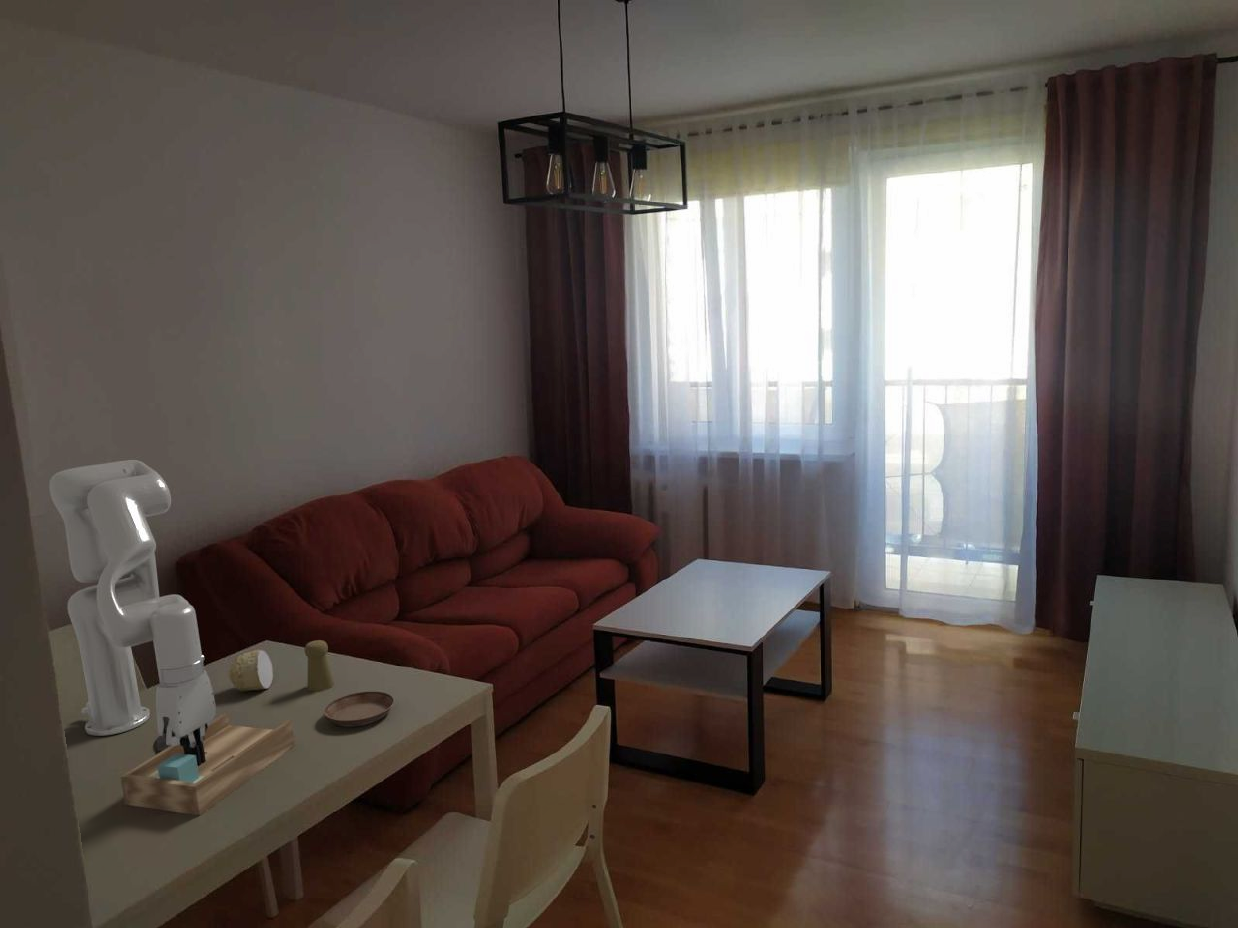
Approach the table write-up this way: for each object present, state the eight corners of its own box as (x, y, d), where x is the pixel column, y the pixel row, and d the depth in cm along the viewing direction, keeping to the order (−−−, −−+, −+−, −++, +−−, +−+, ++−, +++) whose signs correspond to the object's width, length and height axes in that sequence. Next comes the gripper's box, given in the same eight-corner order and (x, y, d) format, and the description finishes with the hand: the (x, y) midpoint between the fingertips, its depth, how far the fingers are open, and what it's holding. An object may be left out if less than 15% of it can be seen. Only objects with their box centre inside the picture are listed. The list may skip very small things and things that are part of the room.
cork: (307, 683, 214) (302, 639, 212) (334, 679, 216) (328, 635, 214) (307, 693, 208) (301, 648, 206) (334, 688, 210) (328, 644, 208)
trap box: (125, 804, 164) (120, 776, 163) (227, 737, 188) (223, 713, 187) (199, 815, 158) (195, 786, 157) (294, 745, 182) (291, 720, 182)
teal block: (161, 787, 163) (157, 764, 162) (179, 775, 167) (176, 752, 166) (180, 790, 161) (177, 767, 160) (199, 777, 165) (195, 755, 165)
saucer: (383, 695, 205) (381, 684, 204) (405, 718, 193) (403, 706, 192) (317, 714, 197) (315, 702, 197) (335, 739, 185) (334, 726, 184)
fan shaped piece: (199, 721, 198) (198, 714, 198) (201, 745, 186) (200, 738, 186) (157, 730, 194) (156, 723, 194) (156, 756, 182) (155, 749, 182)
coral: (271, 667, 207) (229, 653, 206) (260, 704, 209) (218, 691, 209) (286, 649, 216) (246, 635, 215) (275, 684, 218) (236, 671, 218)
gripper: (195, 654, 173) (209, 743, 176) (132, 686, 159) (148, 781, 162) (227, 656, 171) (240, 746, 174) (166, 689, 157) (181, 786, 160)
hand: (196, 763), depth 168 cm, fingers closed
